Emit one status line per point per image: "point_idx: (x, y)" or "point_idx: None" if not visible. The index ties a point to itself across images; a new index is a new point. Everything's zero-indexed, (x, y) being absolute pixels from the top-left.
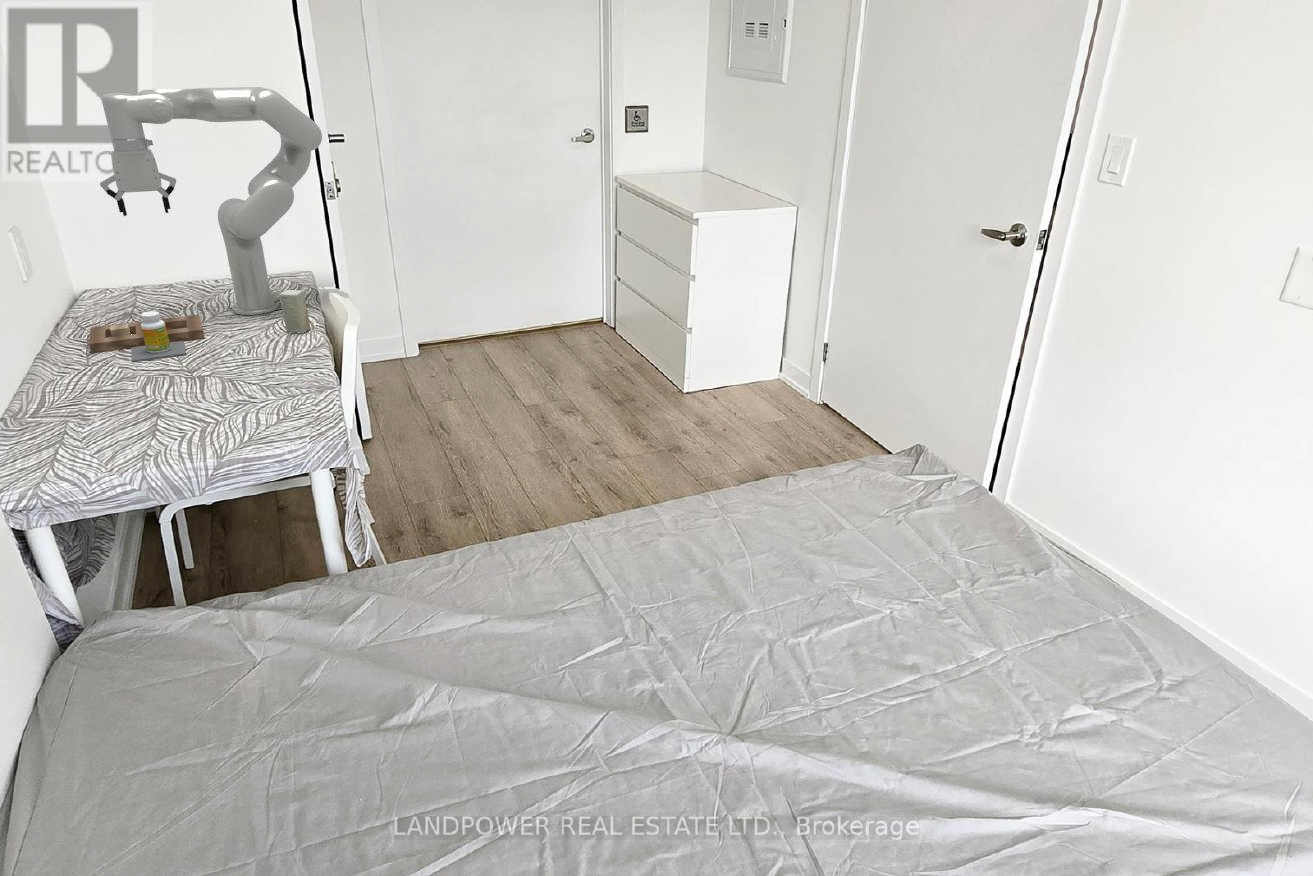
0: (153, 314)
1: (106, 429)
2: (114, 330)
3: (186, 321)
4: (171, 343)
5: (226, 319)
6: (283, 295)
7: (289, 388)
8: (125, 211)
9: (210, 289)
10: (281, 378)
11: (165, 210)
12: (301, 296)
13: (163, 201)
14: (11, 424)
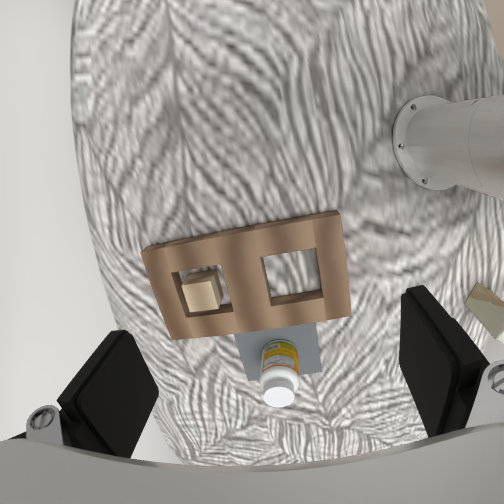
0: (285, 402)
1: None
2: (196, 310)
3: (318, 259)
4: (296, 329)
5: (384, 198)
6: (499, 342)
7: None
8: (150, 409)
9: None
10: (414, 435)
11: (406, 374)
12: None
13: (428, 422)
14: (184, 464)
